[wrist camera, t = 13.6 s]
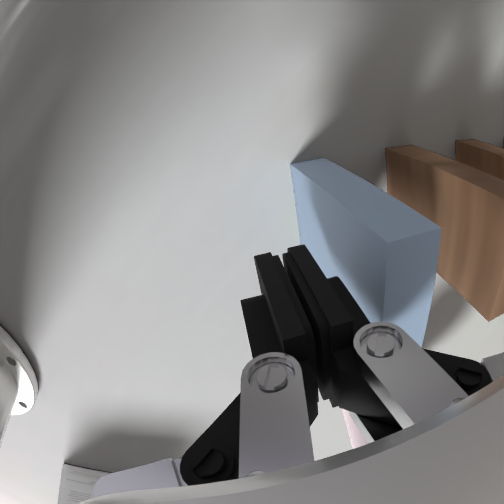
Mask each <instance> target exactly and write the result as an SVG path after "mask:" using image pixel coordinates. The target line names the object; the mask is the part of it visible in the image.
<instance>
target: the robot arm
mask: <svg viewBox="0 0 504 504" xmlns="http://www.w3.org/2000/svg"><path fill="white" fill-rule="evenodd" d="M254 260H255V265H256V269H257V274H258V279H259V284H260V289H261V293H262V295H260V296H256V297H252V298H248V299H244V300H241V305H242V310H243V315H244V319H245V324H246V329H247V333H248V338H249V343H250V347H251V352H252V356H253V359H252V360H251V361H250V362H248V363H247V364H246V366H245V367H244V369H243V371H242V375H241V393H240V394H239V395H238V396H237V397H236V398H235V399H234V401H233V402H232V403H231V404H230V405H229V406H228V407H227V408H226V409H225V410H224V412H223V413H222V414H221V415H220V416H219V417H218V418H217V419H216V420H215V421H214V422H213V424H212V425H211V426H210V427H209V428H208V429H207V430H206V431H205V432H204V433H203V434H202V435H201V436H200V437H199V438H198V439H197V440H196V441H195V442H194V444H193V445H192V446H191V447H190V448H189V449H188V450H187V451H186V452H185V454H184V455H183V457H180V458H177V459H174V460H172V459H171V458H170V457H169V458H166V459H163V460H160V461H156V462H153V463H149V464H146V465H142V466H138V467H135V468H131V469H127V470H123V471H119V472H114V473H110V474H107V475H105V476H102V477H101V478H100V479H99V480H98V481H97V482H96V483H95V485H94V487H93V490H92V499H89V500H86V501H83V502H81V503H78V504H504V352H503V353H500V354H497V355H494V356H490V357H487V358H483V359H482V361H481V363H479V362H477V361H474V360H471V359H466V358H462V357H457V356H453V355H448V354H444V353H440V352H435V351H431V350H427V349H423V348H421V347H420V346H419V345H418V344H417V343H416V342H415V341H414V340H413V339H412V338H411V337H410V336H409V335H408V334H407V333H406V332H405V331H404V330H403V329H402V328H400V327H399V326H397V325H395V324H392V323H389V322H373V323H370V321H369V320H368V318H367V317H366V315H365V314H364V312H363V311H362V309H361V308H360V307H359V305H358V304H357V302H356V301H355V299H354V298H353V296H352V295H351V293H350V292H349V291H348V289H347V288H346V286H345V285H344V283H343V282H342V281H341V279H340V278H339V277H338V276H335V277H331V278H326V276H325V275H324V273H323V271H322V270H321V268H320V267H319V265H318V264H317V262H316V261H315V259H314V258H313V256H312V255H311V253H310V252H309V250H308V249H307V247H306V246H305V245H304V244H303V245H299V246H295V247H290V248H288V253H284V254H283V263H284V267H283V265H282V262H281V260H280V258H279V256H278V255H276V256H272V254H271V252H269V253H265V254H261V255H257V256H254ZM318 388H319V391H320V393H321V396H322V398H323V400H326V399H329V400H330V402H331V404H332V407H336V406H339V408H342V409H345V410H347V411H349V414H350V416H351V418H352V420H353V421H354V423H355V424H356V426H357V427H358V429H359V430H360V432H361V433H362V435H363V436H364V438H365V439H366V441H367V442H368V444H366V445H363V446H360V447H357V448H355V449H352V450H349V451H346V452H343V453H340V454H337V455H334V456H330V457H327V458H324V459H321V460H317V461H314V456H313V448H312V441H311V433H310V426H311V424H312V423H313V421H314V420H315V418H316V417H317V415H318V405H317V402H319V397H318ZM37 393H38V384H37V380H36V376H35V373H34V371H33V369H32V367H31V365H30V363H29V361H28V359H27V358H26V356H25V355H24V353H23V352H22V350H21V349H20V347H19V346H18V345H17V344H16V343H15V341H14V340H13V339H12V338H11V336H10V335H9V334H8V333H7V332H6V331H5V330H4V329H3V328H2V327H1V326H0V446H1V443H2V440H3V437H4V433H5V430H6V427H7V424H8V421H9V418H10V415H18V414H23V413H26V412H28V411H29V410H30V409H31V408H32V407H33V405H34V403H35V400H36V397H37Z"/></svg>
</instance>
